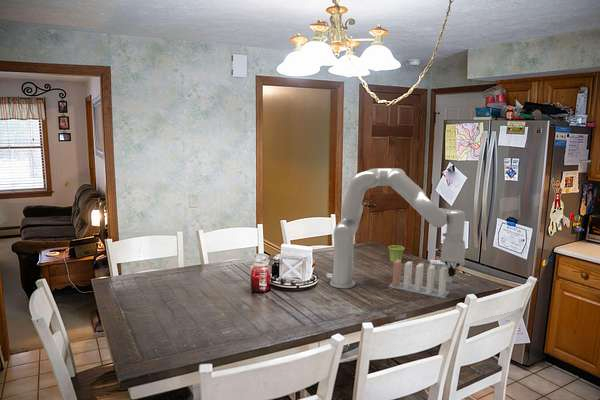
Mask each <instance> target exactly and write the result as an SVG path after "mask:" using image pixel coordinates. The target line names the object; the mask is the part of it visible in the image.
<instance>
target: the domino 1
mask: <svg viewBox="0 0 600 400" xmlns="http://www.w3.org/2000/svg"><path fill="white" fill-rule="evenodd" d="M401 272H402V259H401V260H396V261H395V262H394V263H393V267H392V282H391V284H392V286H394V287H397V286H398V285H399V284H400V282H401V278H402V274H401Z"/></svg>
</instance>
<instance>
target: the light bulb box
mask: <svg viewBox="0 0 600 400" xmlns="http://www.w3.org/2000/svg"><path fill="white" fill-rule="evenodd" d="M440 260H441V259H429V267H430V266H431V265H434V266H435V278H434V283H439V274H440V270H441V268H442V267H446V268H447V278H446V283H453V277H451V276H449V274H448V266H447V265H446V264H445V263H443V262H441V261H440ZM451 264H452V267H453V265H454V263H453V262H451Z"/></svg>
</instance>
